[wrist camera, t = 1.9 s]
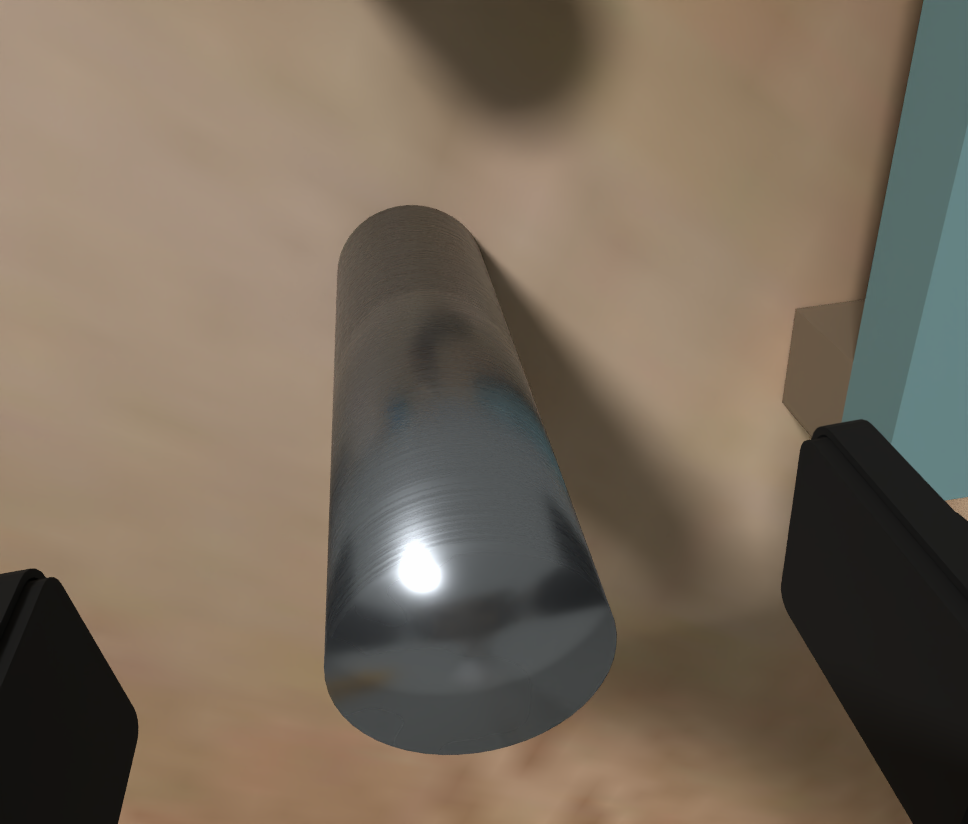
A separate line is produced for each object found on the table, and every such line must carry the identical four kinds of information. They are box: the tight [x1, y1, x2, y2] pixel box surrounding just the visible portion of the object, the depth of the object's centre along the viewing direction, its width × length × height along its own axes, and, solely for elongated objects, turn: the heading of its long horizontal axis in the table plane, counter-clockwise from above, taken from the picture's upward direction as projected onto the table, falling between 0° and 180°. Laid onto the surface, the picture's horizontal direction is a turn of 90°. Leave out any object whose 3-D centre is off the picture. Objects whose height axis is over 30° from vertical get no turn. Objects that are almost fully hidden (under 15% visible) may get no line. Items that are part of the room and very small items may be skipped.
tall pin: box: [324, 205, 617, 755], centre depth 15 cm, size 4×4×12 cm
